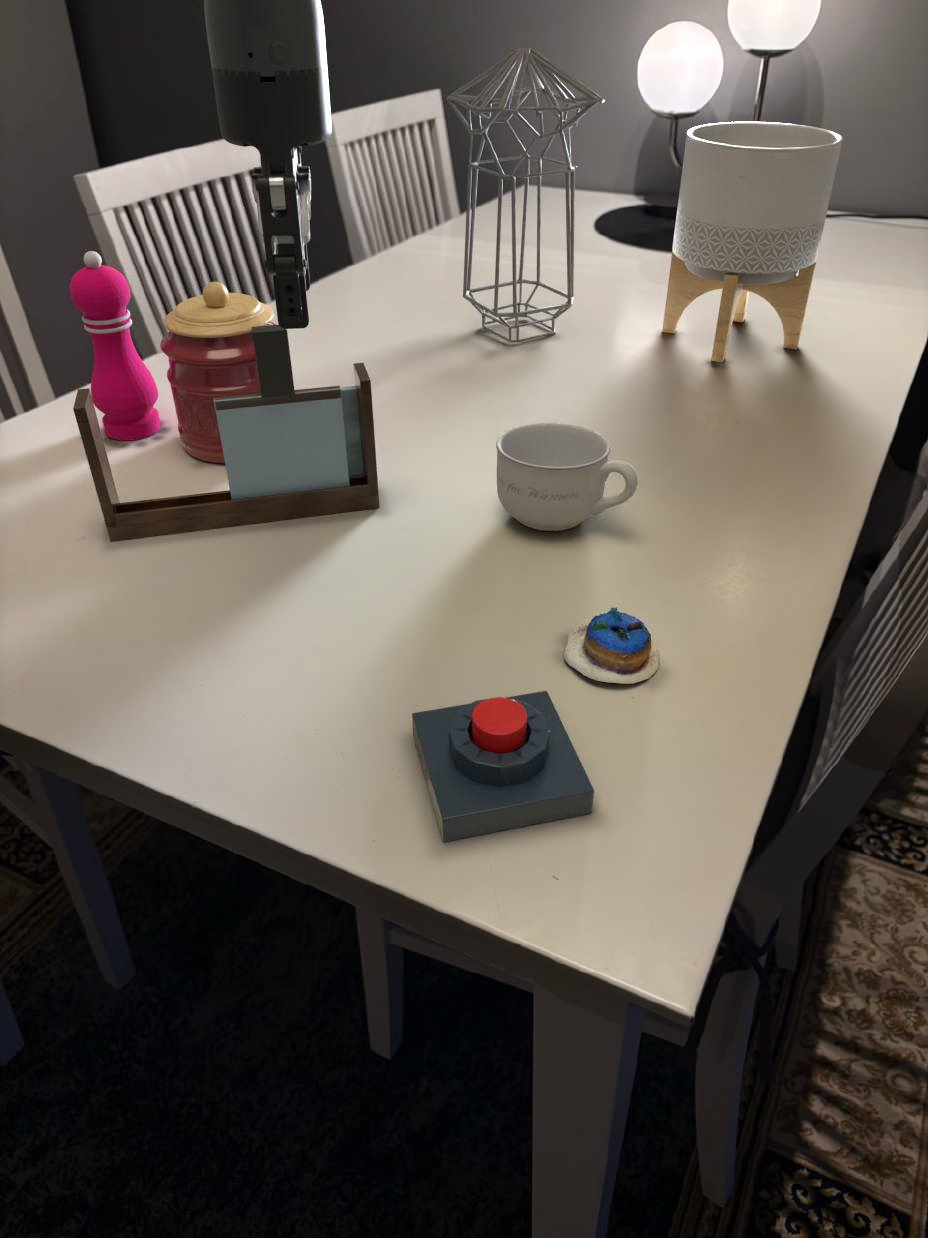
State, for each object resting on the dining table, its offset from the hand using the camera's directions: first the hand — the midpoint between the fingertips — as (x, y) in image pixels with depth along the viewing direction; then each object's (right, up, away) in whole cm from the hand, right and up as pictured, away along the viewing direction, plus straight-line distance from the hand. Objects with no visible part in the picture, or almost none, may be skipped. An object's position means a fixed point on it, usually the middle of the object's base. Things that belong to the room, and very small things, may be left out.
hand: (295, 307), depth 69 cm
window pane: (-4, -12, +21) cm, 24 cm away
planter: (+51, +16, +60) cm, 80 cm away
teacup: (+23, -14, +20) cm, 33 cm away
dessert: (+25, -27, +3) cm, 37 cm away
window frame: (-9, -13, +22) cm, 27 cm away
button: (+15, -31, -9) cm, 36 cm away
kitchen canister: (-13, -3, +35) cm, 37 cm away
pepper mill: (-26, -2, +37) cm, 45 cm away
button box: (+15, -34, -7) cm, 38 cm away
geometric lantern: (+21, +18, +63) cm, 69 cm away
